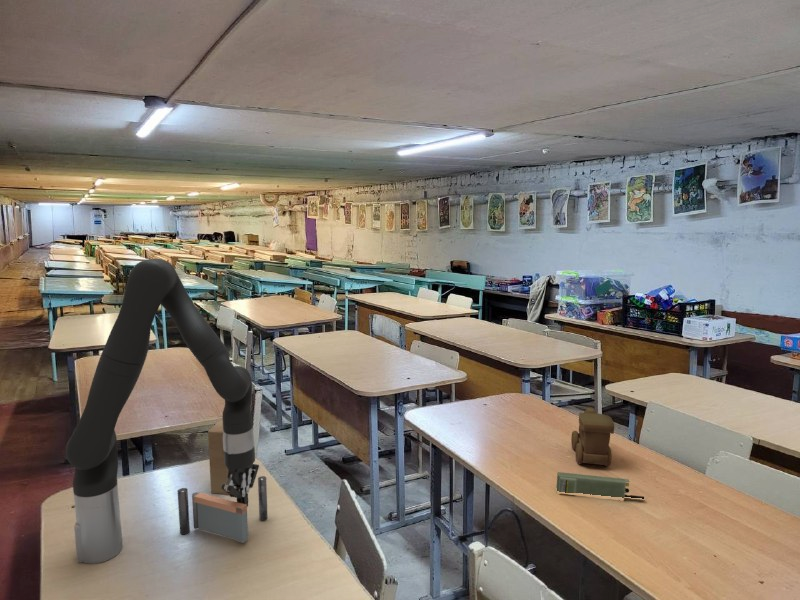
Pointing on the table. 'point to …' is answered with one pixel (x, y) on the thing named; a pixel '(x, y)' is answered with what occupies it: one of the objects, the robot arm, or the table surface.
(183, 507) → the gate frame
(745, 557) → the table surface
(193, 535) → the table surface
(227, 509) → the gate
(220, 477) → the decorative block
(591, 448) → the wooden toy train
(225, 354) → the robot arm
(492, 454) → the table surface
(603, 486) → the handheld radio
